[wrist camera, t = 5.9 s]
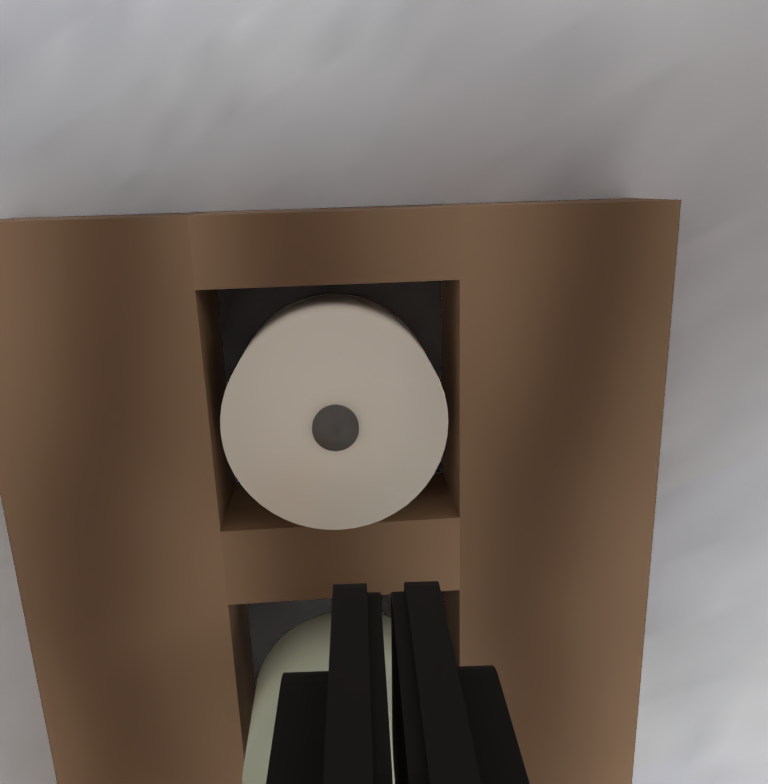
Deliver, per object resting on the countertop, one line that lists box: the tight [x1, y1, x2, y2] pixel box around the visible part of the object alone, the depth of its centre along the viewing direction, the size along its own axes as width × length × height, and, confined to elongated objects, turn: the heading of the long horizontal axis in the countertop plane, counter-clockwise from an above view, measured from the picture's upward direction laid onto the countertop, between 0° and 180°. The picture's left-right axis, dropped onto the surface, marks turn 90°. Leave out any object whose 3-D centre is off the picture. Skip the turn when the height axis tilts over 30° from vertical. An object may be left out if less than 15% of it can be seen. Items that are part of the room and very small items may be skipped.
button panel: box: [0, 198, 681, 784], centre depth 18 cm, size 14×22×2 cm, turn 2°
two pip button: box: [242, 612, 395, 784], centre depth 15 cm, size 4×4×3 cm
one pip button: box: [220, 294, 448, 530], centre depth 15 cm, size 4×4×3 cm
